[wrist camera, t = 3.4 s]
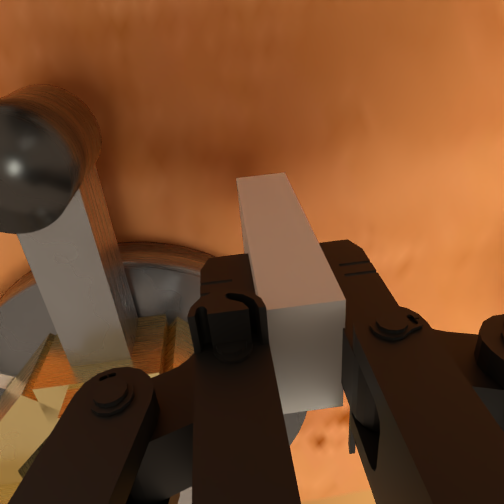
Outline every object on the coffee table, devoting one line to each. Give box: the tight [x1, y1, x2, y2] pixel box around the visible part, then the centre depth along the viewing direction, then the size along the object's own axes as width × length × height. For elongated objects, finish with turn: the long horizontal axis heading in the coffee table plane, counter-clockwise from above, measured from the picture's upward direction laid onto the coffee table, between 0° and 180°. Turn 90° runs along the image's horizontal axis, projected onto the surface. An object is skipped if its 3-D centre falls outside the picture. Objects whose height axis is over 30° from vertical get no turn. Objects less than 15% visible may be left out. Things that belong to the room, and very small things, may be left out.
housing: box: [0, 242, 307, 504], centre depth 18 cm, size 15×15×8 cm
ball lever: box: [0, 84, 194, 504], centre depth 15 cm, size 19×11×4 cm, turn 5°
